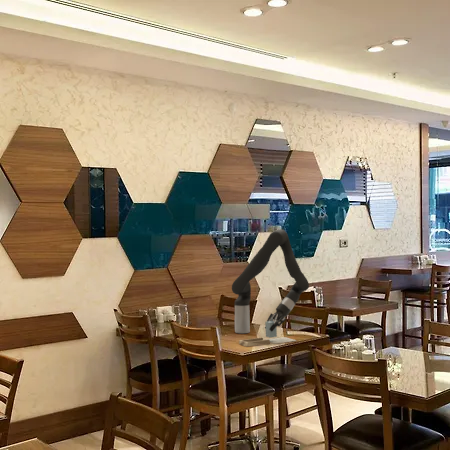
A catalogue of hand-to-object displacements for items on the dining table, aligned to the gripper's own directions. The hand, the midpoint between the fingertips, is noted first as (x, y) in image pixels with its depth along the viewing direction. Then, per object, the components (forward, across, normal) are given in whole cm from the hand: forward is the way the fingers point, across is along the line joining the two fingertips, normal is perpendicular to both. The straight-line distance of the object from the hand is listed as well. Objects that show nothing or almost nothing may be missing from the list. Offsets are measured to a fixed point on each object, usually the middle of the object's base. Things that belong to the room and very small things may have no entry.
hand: (268, 329), depth 334 cm
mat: (0, 0, +10) cm, 11 cm away
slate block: (+2, 0, +4) cm, 5 cm away
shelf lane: (+12, 0, -2) cm, 12 cm away
